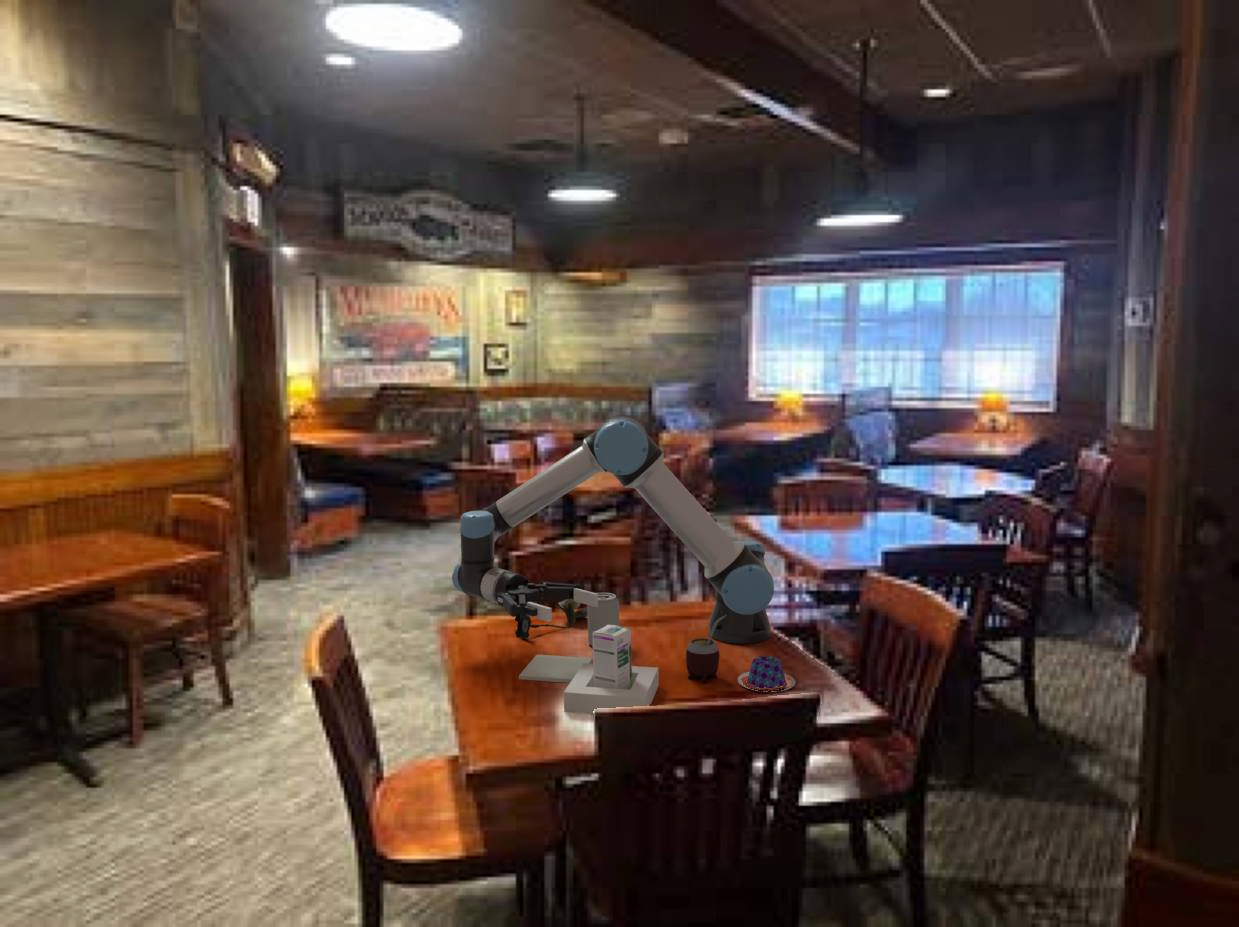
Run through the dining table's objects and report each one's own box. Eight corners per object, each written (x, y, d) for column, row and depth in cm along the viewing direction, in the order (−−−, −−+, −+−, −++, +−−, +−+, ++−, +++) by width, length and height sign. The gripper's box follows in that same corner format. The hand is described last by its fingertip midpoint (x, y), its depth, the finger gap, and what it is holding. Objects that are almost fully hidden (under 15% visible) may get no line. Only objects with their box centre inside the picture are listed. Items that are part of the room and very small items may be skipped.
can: (620, 639, 216) (620, 591, 214) (617, 650, 209) (617, 600, 207) (590, 638, 217) (589, 590, 215) (585, 649, 210) (585, 599, 208)
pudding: (807, 686, 187) (808, 662, 186) (765, 700, 180) (766, 675, 179) (766, 669, 197) (767, 646, 196) (725, 681, 190) (725, 658, 189)
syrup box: (617, 706, 177) (616, 635, 175) (592, 700, 180) (591, 630, 178) (632, 696, 182) (632, 627, 180) (608, 690, 185) (607, 623, 183)
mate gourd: (683, 672, 194) (683, 605, 192) (719, 671, 195) (719, 604, 193) (689, 685, 187) (689, 616, 185) (726, 684, 188) (727, 615, 186)
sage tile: (592, 661, 202) (592, 657, 202) (577, 683, 189) (577, 679, 189) (536, 657, 204) (536, 654, 204) (518, 679, 192) (518, 675, 192)
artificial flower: (508, 639, 221) (506, 599, 223) (584, 632, 235) (581, 593, 236) (526, 639, 214) (524, 597, 216) (603, 631, 227) (600, 591, 229)
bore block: (658, 686, 187) (658, 667, 187) (644, 717, 172) (644, 697, 171) (584, 680, 190) (583, 662, 190) (564, 711, 175) (563, 692, 174)
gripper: (547, 592, 209) (614, 611, 195) (461, 617, 190) (529, 640, 176) (546, 561, 208) (614, 577, 194) (460, 583, 189) (529, 603, 175)
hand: (574, 607), depth 185 cm, fingers open, 13 cm apart
